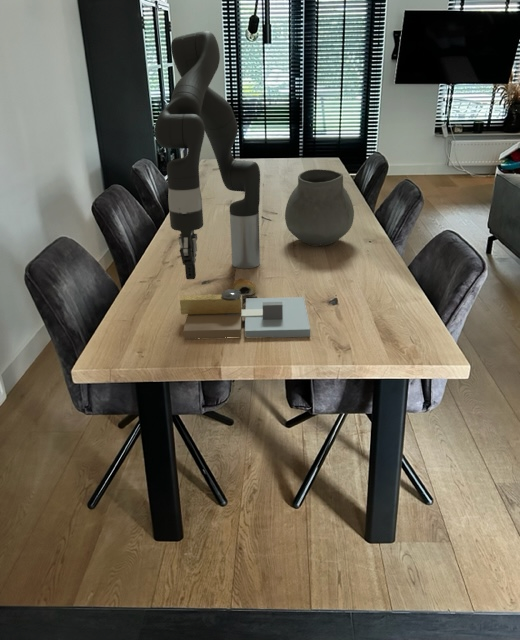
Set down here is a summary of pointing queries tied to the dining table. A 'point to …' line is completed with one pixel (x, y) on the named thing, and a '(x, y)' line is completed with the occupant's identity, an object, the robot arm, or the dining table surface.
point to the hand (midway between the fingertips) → (191, 278)
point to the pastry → (244, 287)
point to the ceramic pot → (319, 208)
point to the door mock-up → (253, 320)
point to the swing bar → (212, 303)
